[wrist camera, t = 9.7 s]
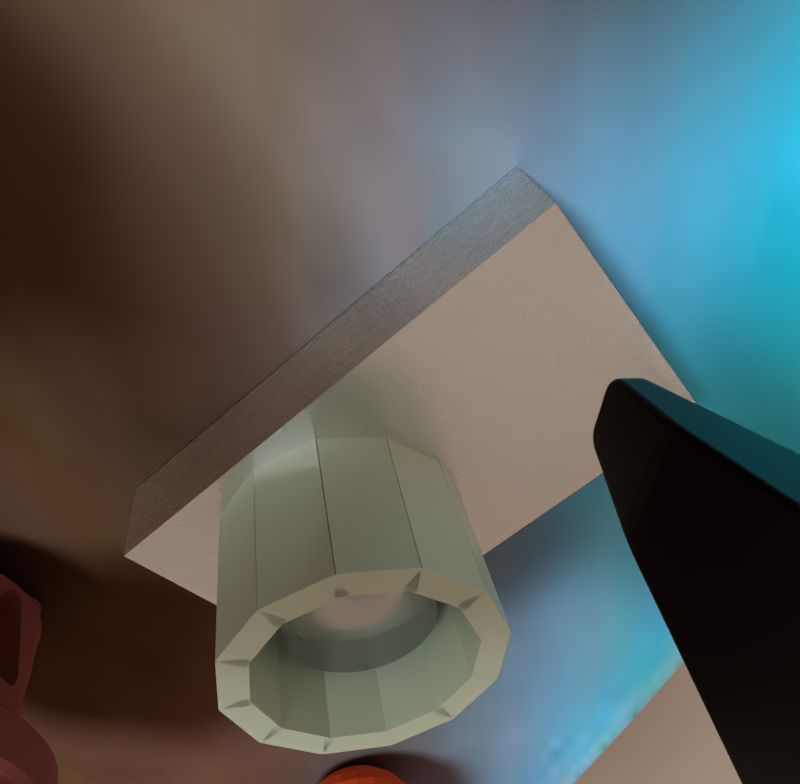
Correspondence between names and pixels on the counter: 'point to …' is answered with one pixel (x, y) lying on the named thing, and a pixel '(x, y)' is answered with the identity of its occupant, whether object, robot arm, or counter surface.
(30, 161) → the counter surface
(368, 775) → the clementine
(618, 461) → the robot arm
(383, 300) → the beige rectangular block
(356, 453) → the collar
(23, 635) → the mechanical component
